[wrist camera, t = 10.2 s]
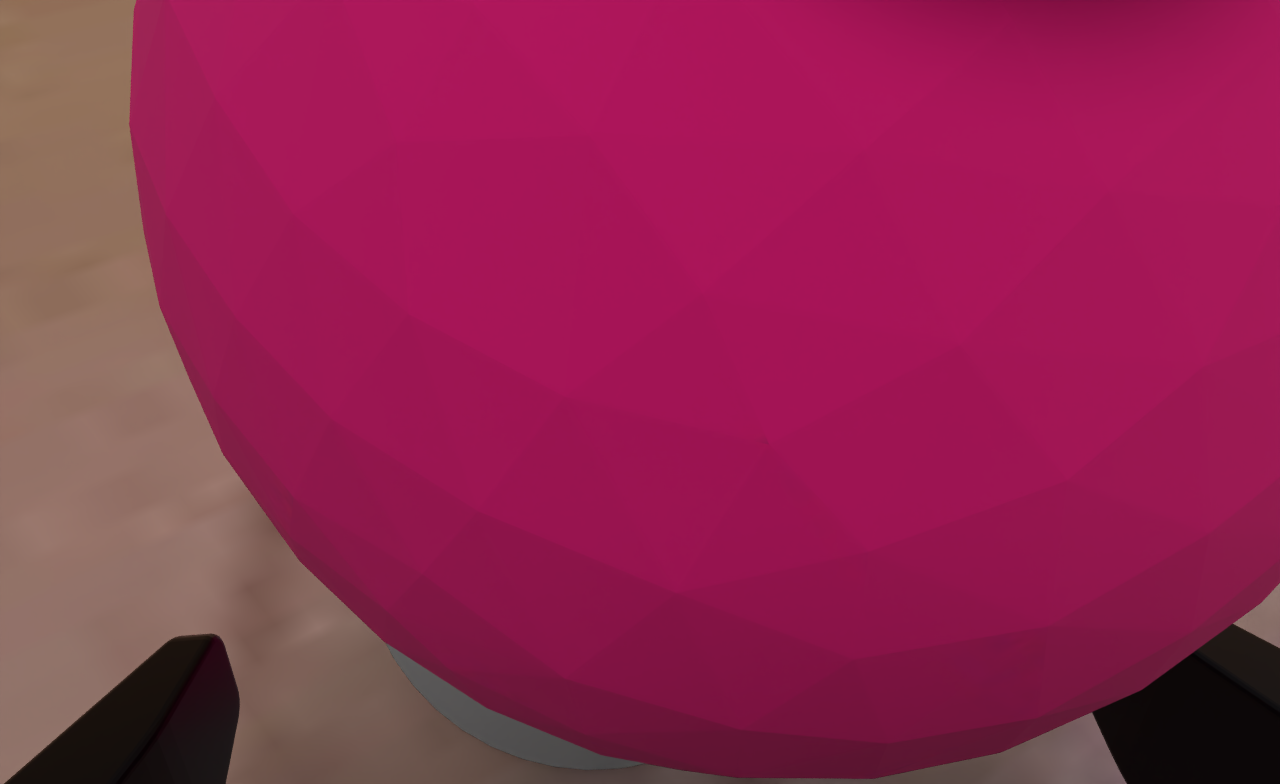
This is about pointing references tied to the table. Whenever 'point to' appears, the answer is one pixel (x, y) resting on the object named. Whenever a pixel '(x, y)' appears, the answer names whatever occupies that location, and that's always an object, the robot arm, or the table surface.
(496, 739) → the slate coaster
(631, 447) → the pepper mill
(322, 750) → the table surface
